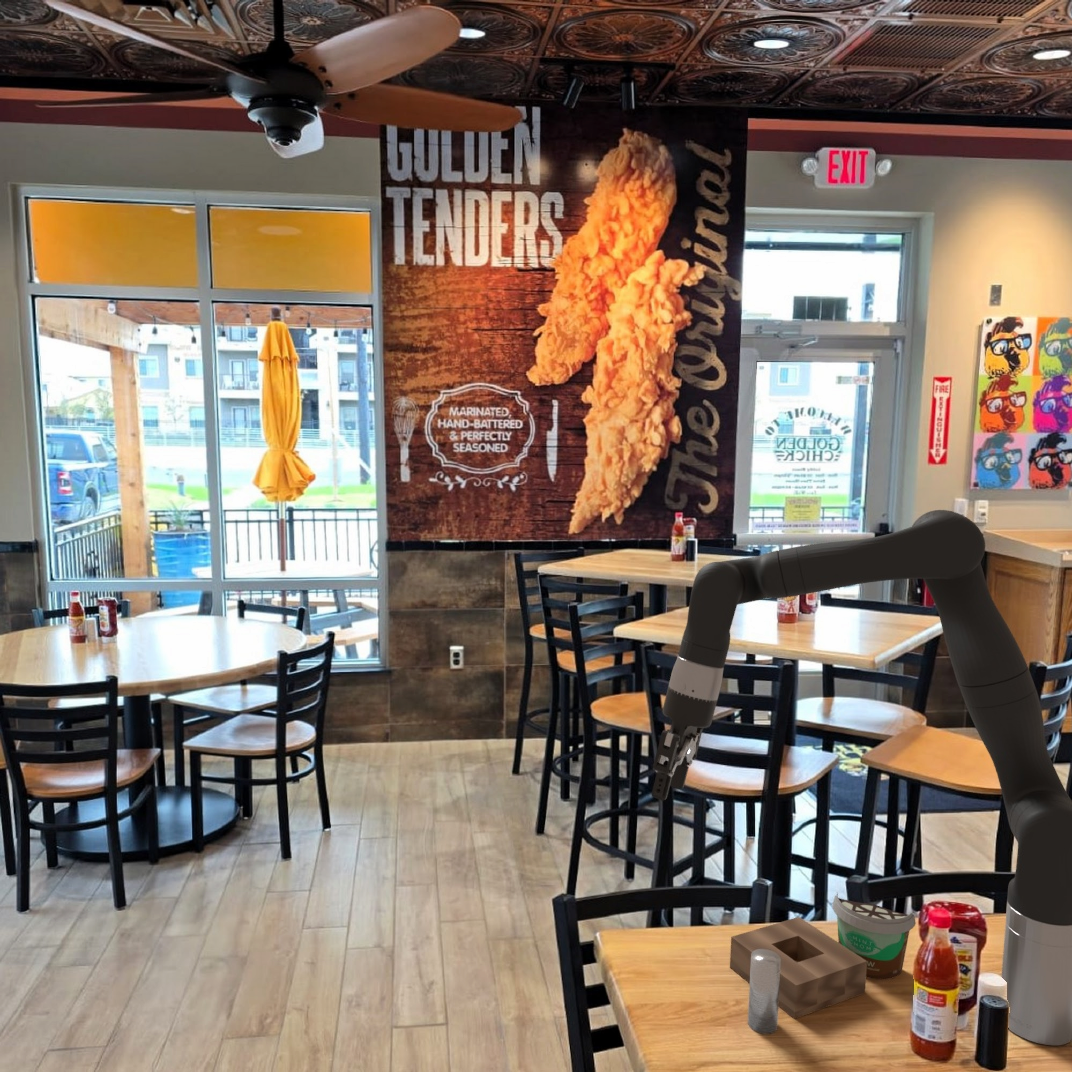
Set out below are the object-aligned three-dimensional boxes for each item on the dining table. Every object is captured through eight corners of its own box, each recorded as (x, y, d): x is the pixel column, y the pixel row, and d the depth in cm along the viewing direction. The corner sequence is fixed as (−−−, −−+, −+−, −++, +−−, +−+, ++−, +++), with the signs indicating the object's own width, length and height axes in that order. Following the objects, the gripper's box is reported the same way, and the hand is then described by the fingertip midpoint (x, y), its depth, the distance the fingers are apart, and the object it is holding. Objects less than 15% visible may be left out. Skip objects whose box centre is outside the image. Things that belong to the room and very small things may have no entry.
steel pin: (763, 1012, 128) (766, 946, 127) (783, 1029, 124) (786, 960, 123) (741, 1020, 126) (745, 953, 125) (761, 1037, 122) (764, 968, 121)
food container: (823, 969, 139) (826, 908, 138) (830, 950, 144) (833, 891, 143) (908, 993, 133) (912, 929, 132) (912, 972, 139) (916, 910, 138)
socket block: (797, 946, 145) (798, 916, 145) (865, 993, 133) (866, 961, 132) (729, 967, 139) (731, 936, 138) (794, 1018, 126) (796, 985, 126)
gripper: (704, 703, 127) (676, 812, 127) (729, 693, 139) (703, 792, 140) (655, 687, 130) (628, 793, 131) (684, 678, 143) (659, 775, 144)
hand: (667, 792), depth 136 cm, fingers open, 8 cm apart
